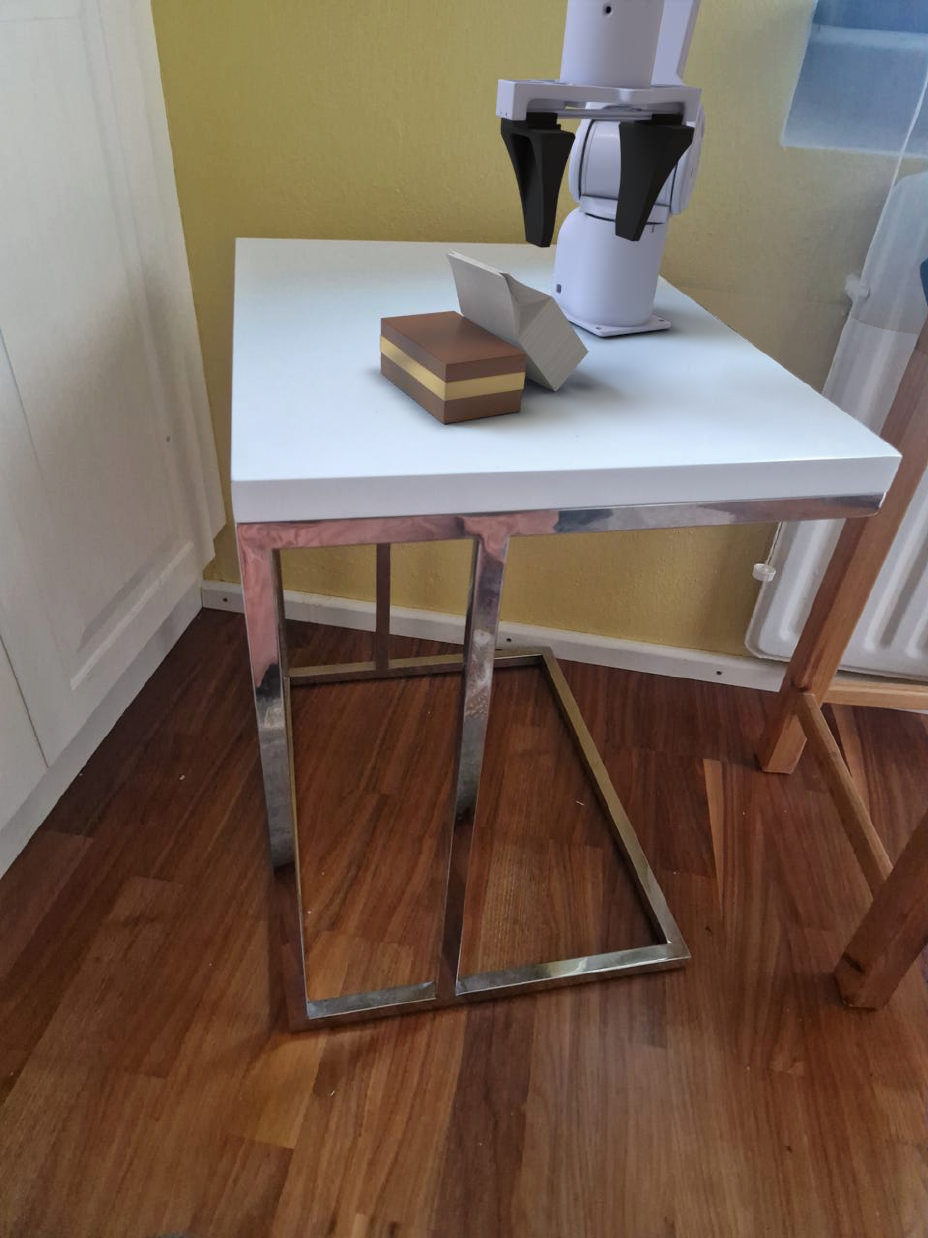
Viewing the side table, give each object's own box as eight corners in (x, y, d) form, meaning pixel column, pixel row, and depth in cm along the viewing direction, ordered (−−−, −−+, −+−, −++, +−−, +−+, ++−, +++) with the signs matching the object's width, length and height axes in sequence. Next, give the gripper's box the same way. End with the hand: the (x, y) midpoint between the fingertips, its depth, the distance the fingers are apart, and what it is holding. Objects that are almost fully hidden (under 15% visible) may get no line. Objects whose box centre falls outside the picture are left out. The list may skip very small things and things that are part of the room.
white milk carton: (556, 391, 60) (487, 299, 52) (500, 362, 64) (429, 273, 57) (588, 351, 60) (524, 253, 52) (530, 324, 64) (463, 230, 57)
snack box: (379, 372, 61) (379, 317, 59) (451, 363, 64) (454, 309, 61) (443, 424, 54) (446, 364, 52) (521, 411, 57) (527, 353, 54)
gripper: (552, -12, 43) (526, 261, 51) (753, 5, 49) (701, 248, 57) (486, -15, 48) (471, 236, 56) (676, 2, 54) (638, 226, 62)
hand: (583, 241), depth 57 cm, fingers open, 7 cm apart
